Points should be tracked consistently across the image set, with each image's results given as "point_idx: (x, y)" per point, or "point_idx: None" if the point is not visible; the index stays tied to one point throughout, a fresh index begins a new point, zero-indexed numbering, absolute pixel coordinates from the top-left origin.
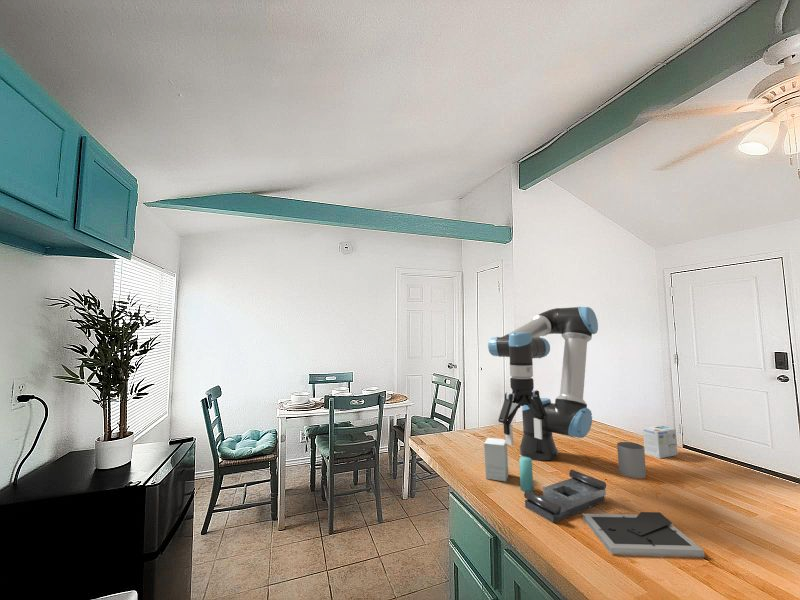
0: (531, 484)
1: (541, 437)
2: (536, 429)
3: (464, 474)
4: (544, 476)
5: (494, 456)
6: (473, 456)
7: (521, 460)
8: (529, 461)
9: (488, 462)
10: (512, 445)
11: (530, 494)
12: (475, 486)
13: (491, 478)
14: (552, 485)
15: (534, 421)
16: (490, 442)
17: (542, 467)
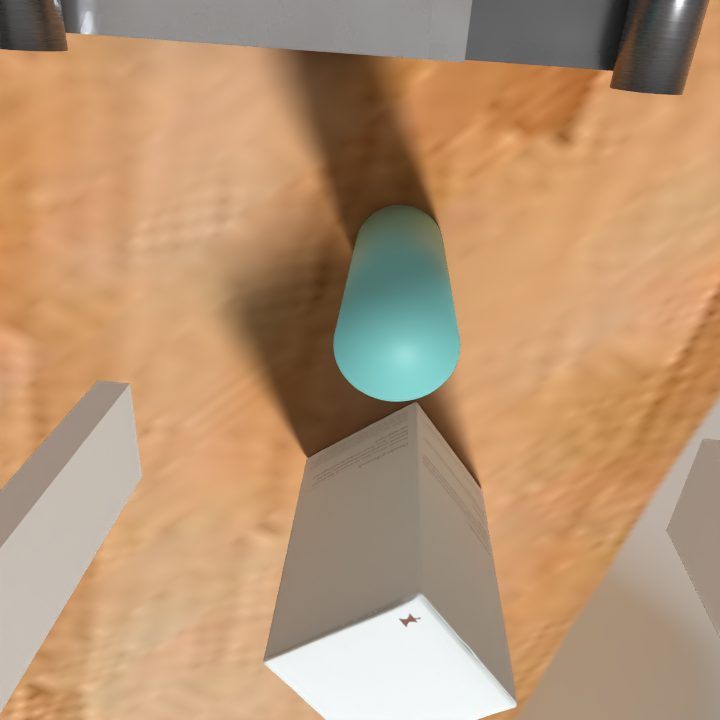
0: (401, 219)
1: (101, 396)
2: (79, 529)
3: (532, 586)
4: (115, 310)
5: (464, 564)
6: (287, 693)
7: (459, 348)
8: (414, 287)
9: (484, 555)
10: (718, 440)
11: (694, 26)
12: (625, 460)
13: (465, 470)
14: (355, 36)
15: (17, 668)
16: (459, 689)
17: (17, 403)
